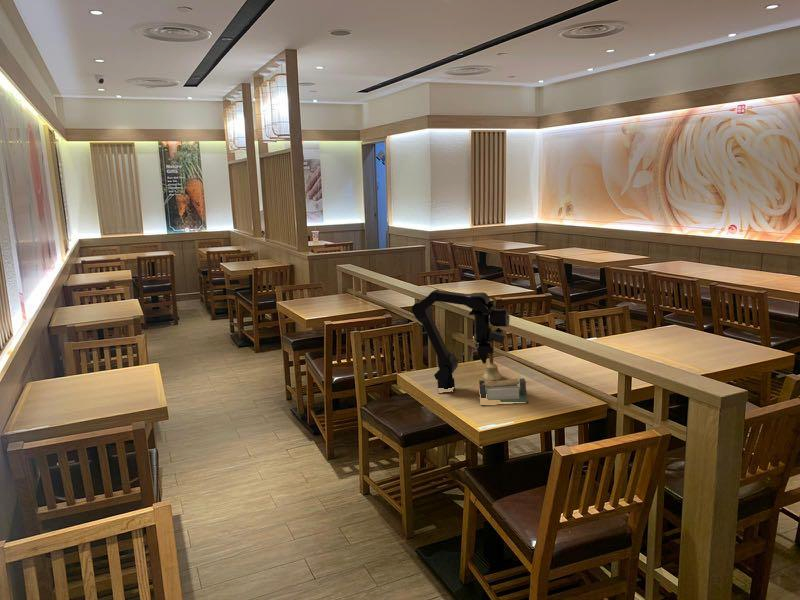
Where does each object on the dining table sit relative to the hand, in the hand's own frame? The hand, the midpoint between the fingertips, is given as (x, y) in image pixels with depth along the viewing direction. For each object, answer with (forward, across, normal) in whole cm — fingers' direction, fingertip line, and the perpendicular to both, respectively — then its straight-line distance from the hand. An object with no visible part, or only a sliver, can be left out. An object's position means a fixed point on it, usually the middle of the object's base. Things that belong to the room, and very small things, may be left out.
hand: (484, 363), depth 234 cm
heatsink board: (+13, -4, -6) cm, 15 cm away
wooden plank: (+8, -4, -6) cm, 10 cm away
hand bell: (+13, +17, -4) cm, 22 cm away
